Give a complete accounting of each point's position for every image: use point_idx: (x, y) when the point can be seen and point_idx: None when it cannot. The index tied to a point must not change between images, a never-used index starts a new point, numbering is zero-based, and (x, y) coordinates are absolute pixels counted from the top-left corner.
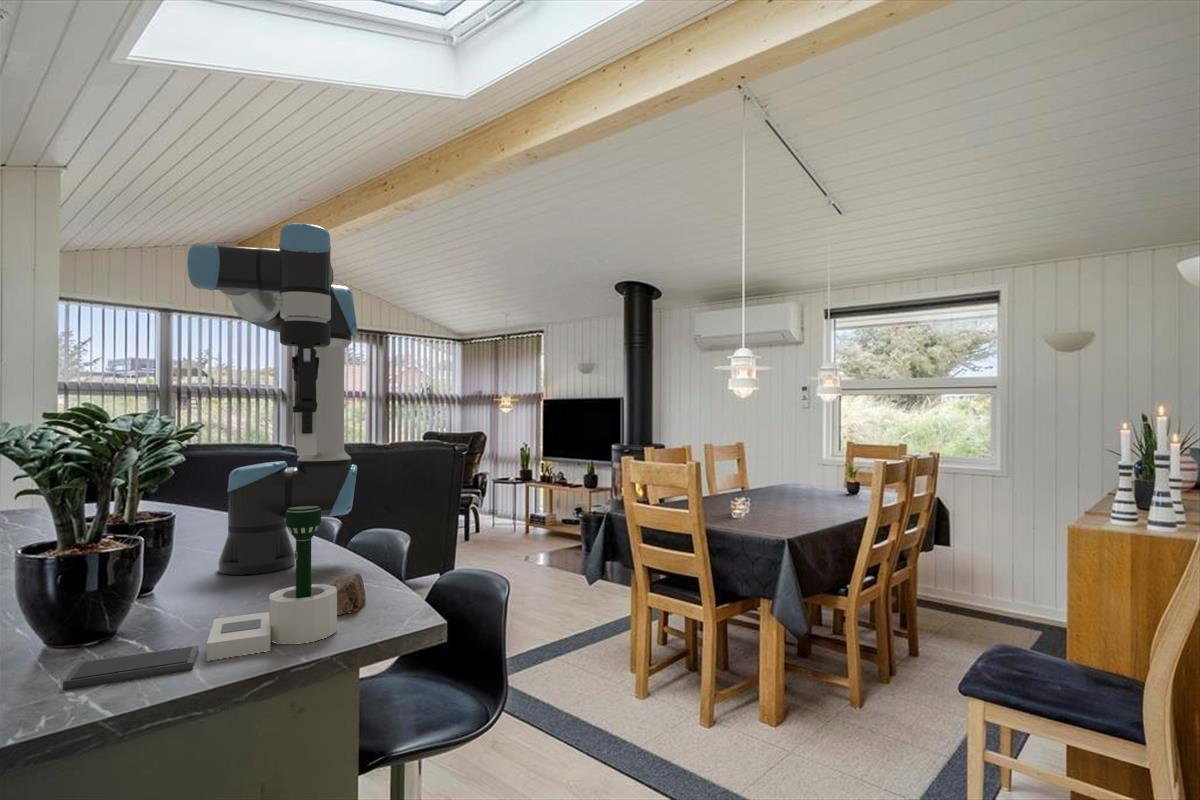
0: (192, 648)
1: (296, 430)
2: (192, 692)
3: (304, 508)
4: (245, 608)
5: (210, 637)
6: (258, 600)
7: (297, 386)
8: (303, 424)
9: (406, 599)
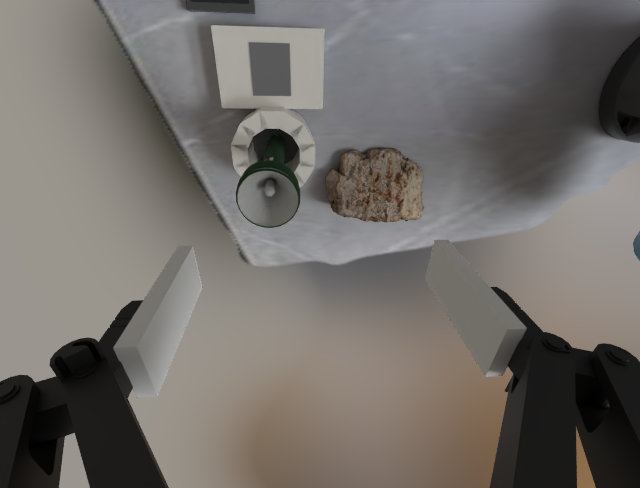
0: (244, 4)
1: (461, 277)
2: (113, 18)
3: (297, 199)
4: (425, 70)
5: (236, 28)
6: (454, 87)
7: (511, 472)
8: (111, 328)
9: (351, 251)
